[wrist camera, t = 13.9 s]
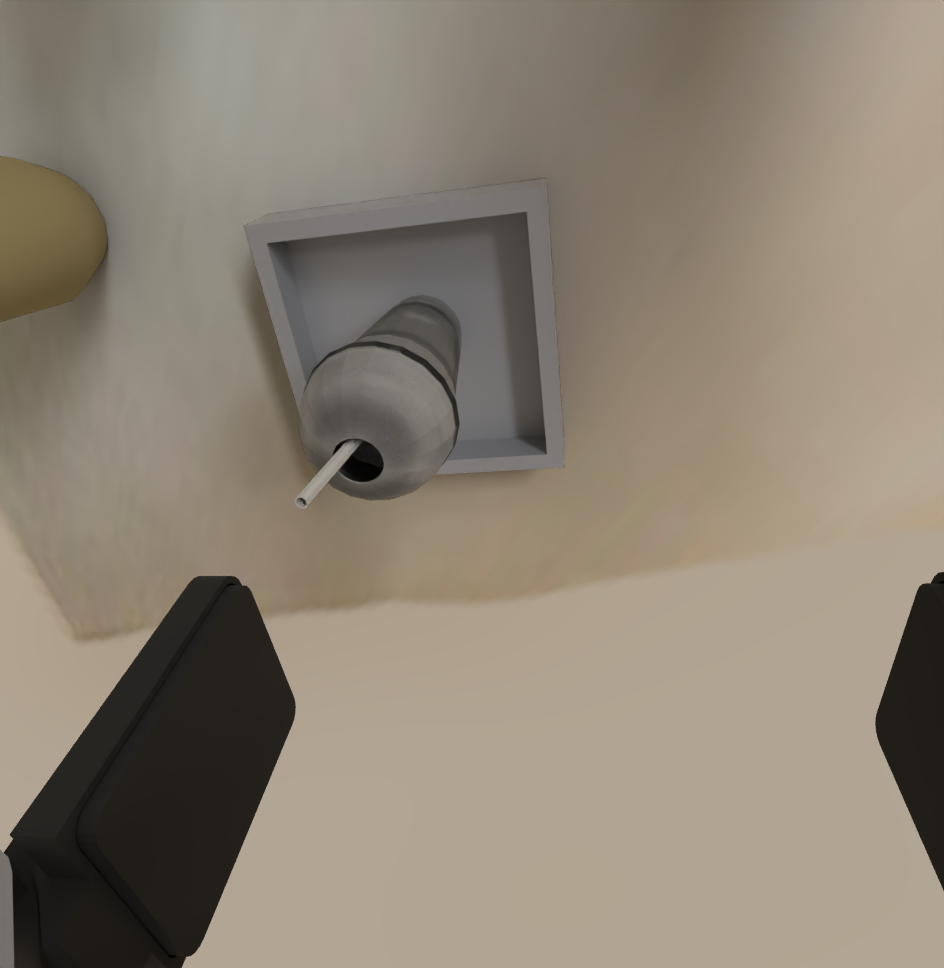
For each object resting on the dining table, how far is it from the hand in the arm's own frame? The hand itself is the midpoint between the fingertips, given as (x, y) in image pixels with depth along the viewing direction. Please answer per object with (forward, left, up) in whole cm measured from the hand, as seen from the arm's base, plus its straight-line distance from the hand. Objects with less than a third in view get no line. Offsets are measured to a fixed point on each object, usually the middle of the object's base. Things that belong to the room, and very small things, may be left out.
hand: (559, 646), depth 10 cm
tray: (+6, -9, -32) cm, 33 cm away
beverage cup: (+5, -8, -31) cm, 33 cm away
